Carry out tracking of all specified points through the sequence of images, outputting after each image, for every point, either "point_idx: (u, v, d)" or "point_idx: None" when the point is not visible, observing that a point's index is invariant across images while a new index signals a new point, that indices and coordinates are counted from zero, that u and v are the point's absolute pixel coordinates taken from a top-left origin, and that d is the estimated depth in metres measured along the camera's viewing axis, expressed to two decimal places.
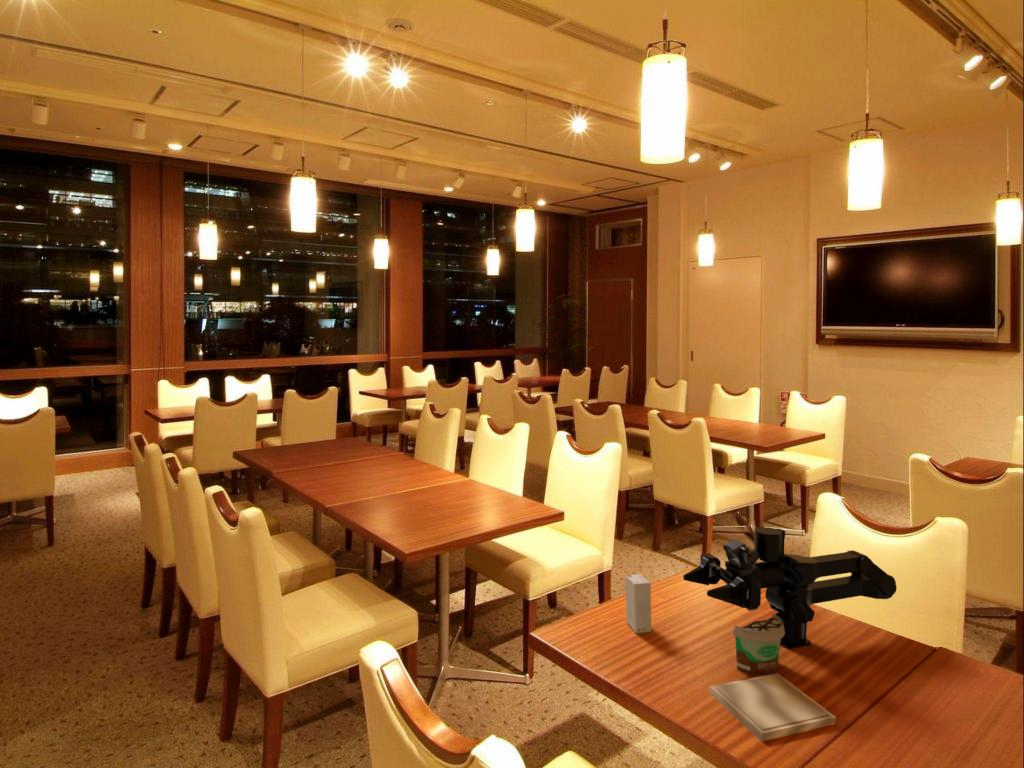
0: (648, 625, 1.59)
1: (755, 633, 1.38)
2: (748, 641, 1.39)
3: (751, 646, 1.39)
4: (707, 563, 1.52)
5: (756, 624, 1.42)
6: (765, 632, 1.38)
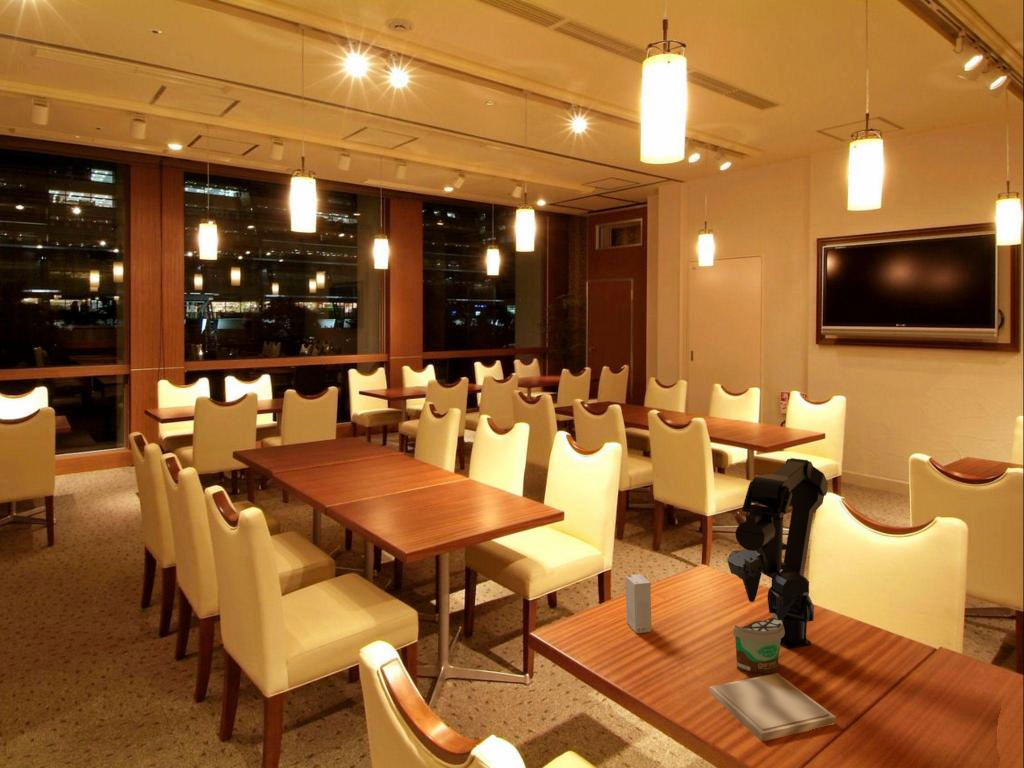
0: (648, 625, 1.59)
1: (755, 633, 1.38)
2: (748, 641, 1.39)
3: (751, 646, 1.39)
4: None
5: (756, 624, 1.42)
6: (765, 632, 1.38)
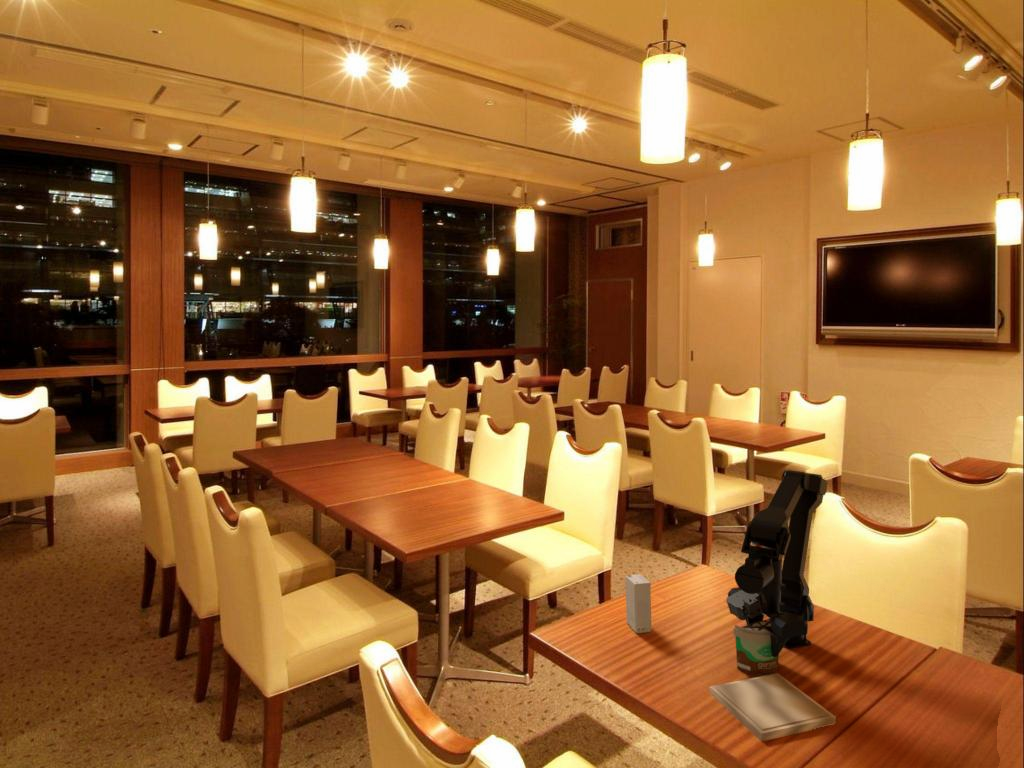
0: (648, 625, 1.59)
1: (755, 633, 1.38)
2: (748, 641, 1.39)
3: (751, 646, 1.39)
4: None
5: (757, 624, 1.42)
6: (765, 632, 1.38)
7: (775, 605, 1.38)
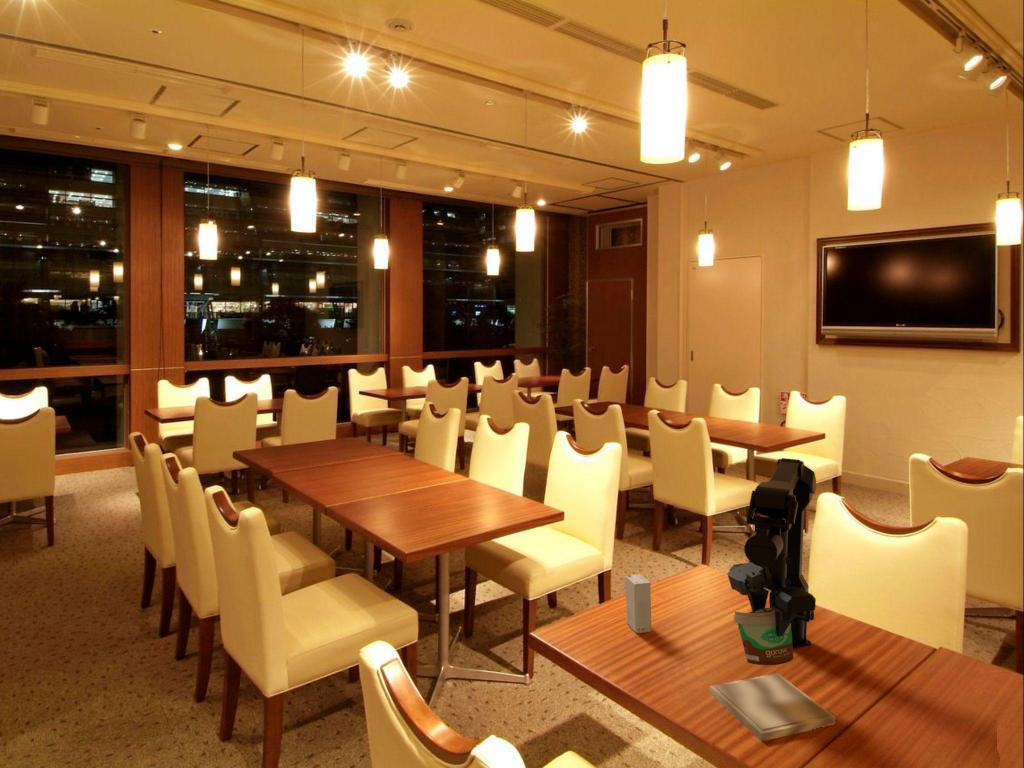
0: (648, 625, 1.59)
1: (754, 616, 1.29)
2: (750, 626, 1.30)
3: (753, 632, 1.29)
4: None
5: (761, 610, 1.33)
6: (765, 614, 1.29)
7: (780, 580, 1.28)
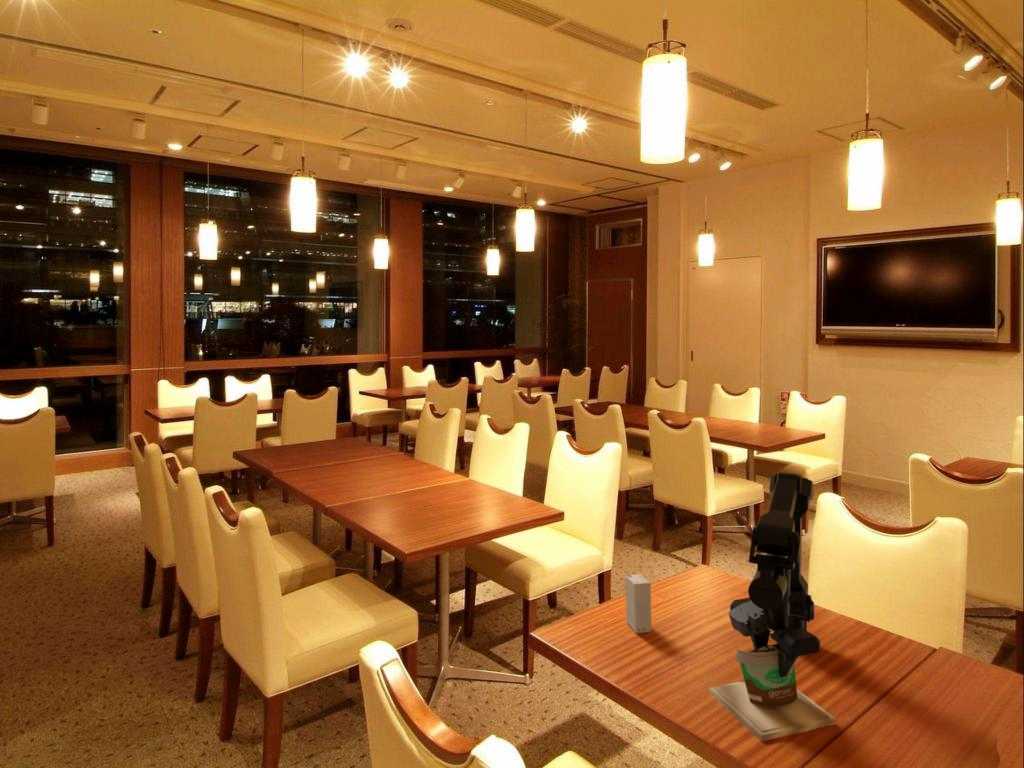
0: (648, 625, 1.59)
1: (757, 655, 1.25)
2: (752, 666, 1.26)
3: (756, 671, 1.25)
4: None
5: (764, 648, 1.29)
6: (768, 653, 1.25)
7: (783, 619, 1.23)
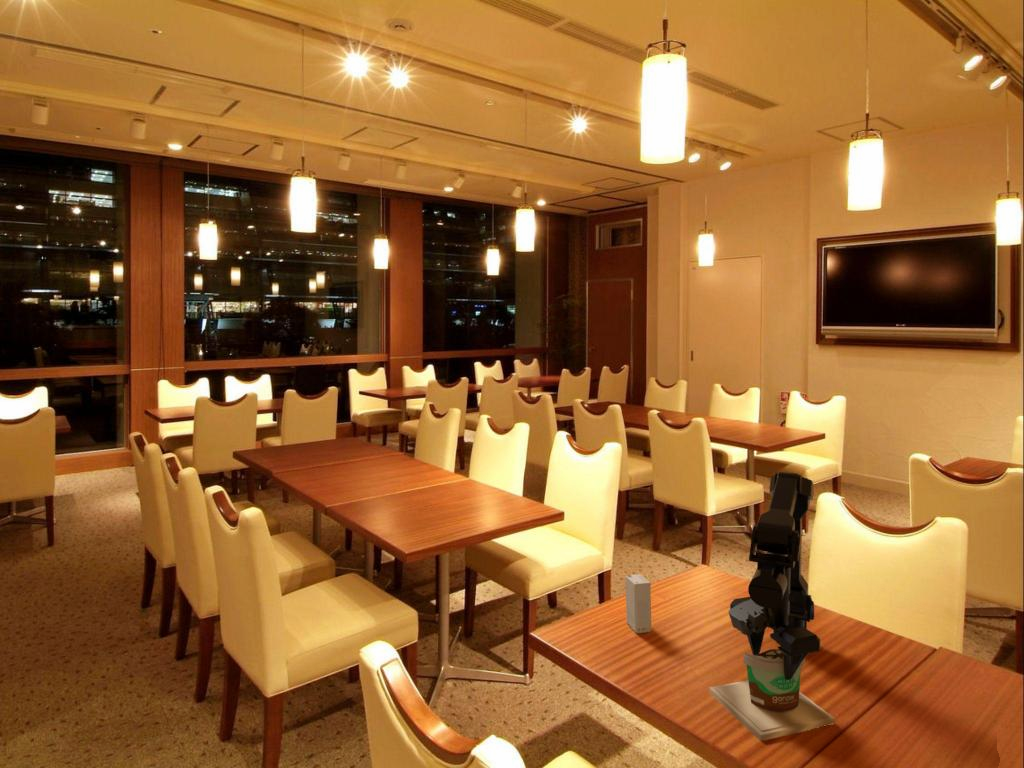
0: (648, 625, 1.59)
1: (766, 661, 1.24)
2: (759, 670, 1.25)
3: (762, 676, 1.24)
4: None
5: (772, 652, 1.28)
6: (778, 660, 1.23)
7: (783, 618, 1.23)
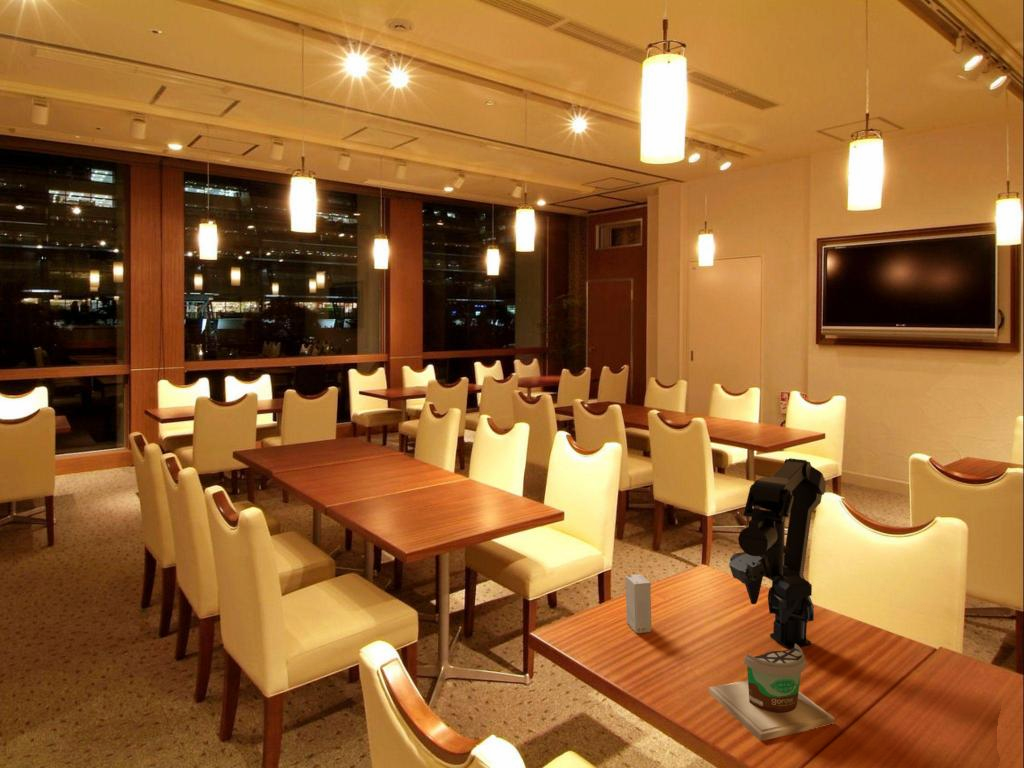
0: (648, 625, 1.59)
1: (768, 665, 1.23)
2: (760, 673, 1.24)
3: (763, 678, 1.24)
4: None
5: (773, 654, 1.27)
6: (780, 664, 1.23)
7: (778, 568, 1.36)
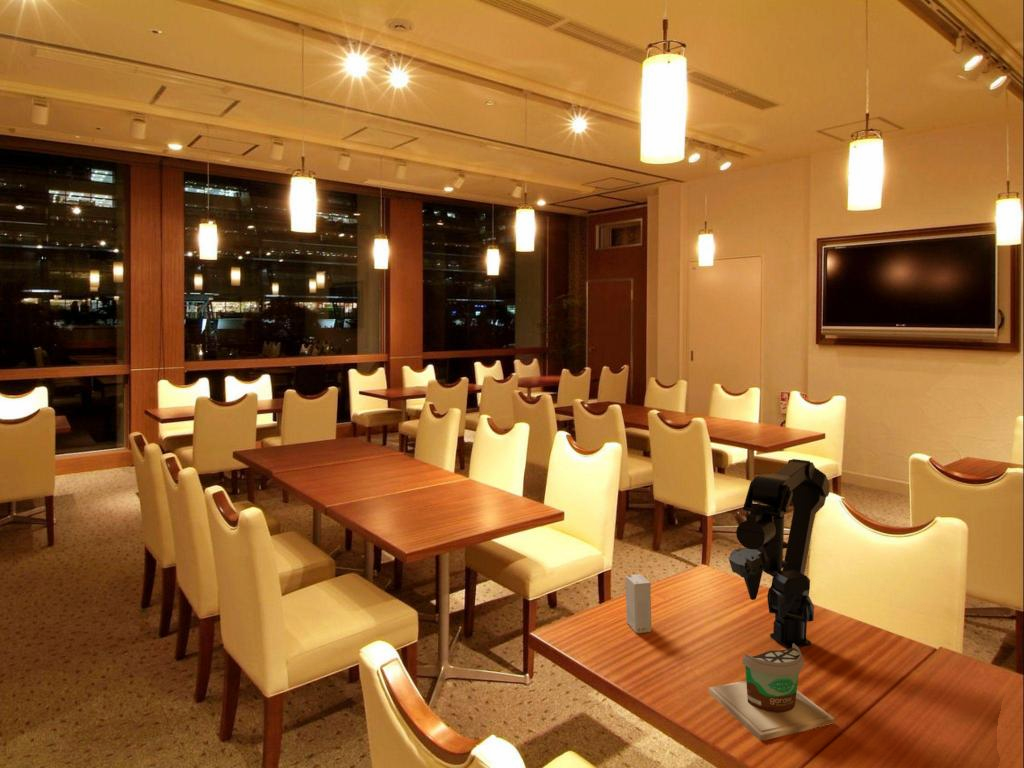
0: (648, 625, 1.59)
1: (766, 664, 1.23)
2: (758, 672, 1.24)
3: (761, 678, 1.24)
4: None
5: (771, 654, 1.27)
6: (778, 664, 1.23)
7: (777, 563, 1.38)
